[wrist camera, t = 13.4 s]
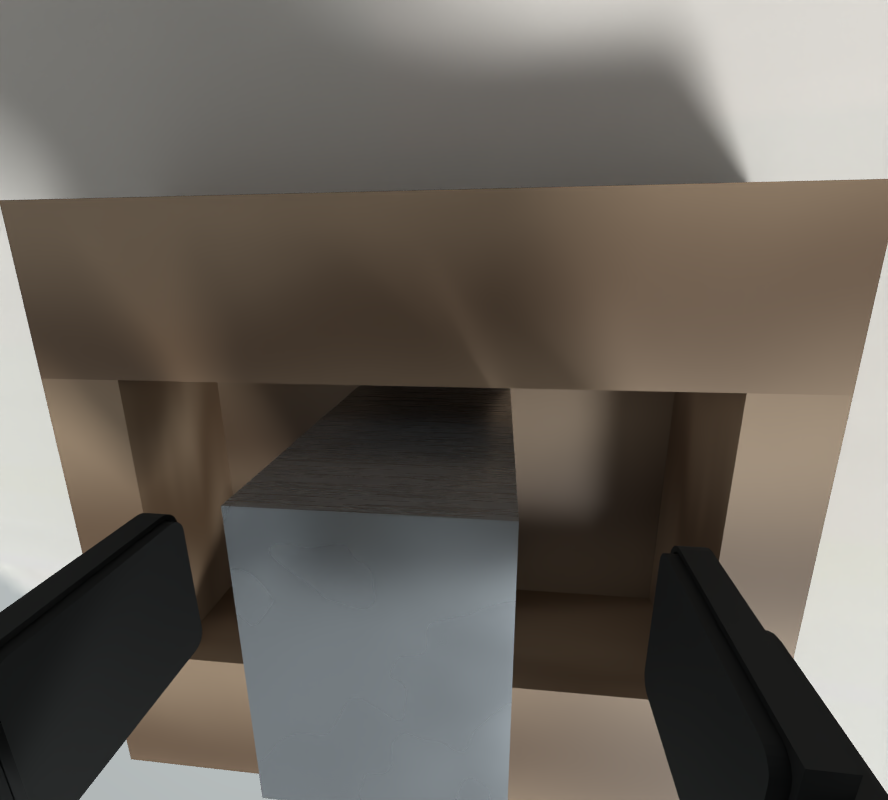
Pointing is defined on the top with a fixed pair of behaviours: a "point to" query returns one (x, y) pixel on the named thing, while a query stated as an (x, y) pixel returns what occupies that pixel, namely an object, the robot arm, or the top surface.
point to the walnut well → (474, 366)
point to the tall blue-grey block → (382, 599)
